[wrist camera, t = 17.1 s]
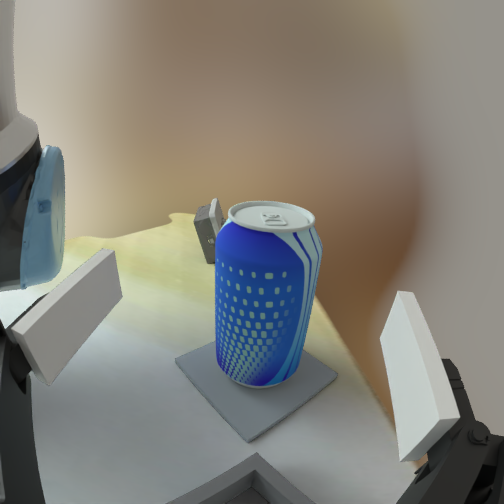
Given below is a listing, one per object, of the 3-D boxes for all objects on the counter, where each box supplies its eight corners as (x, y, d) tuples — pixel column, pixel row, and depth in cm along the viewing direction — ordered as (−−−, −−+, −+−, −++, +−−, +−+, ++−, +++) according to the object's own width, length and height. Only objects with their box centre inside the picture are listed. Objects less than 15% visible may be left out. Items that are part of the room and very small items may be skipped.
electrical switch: (230, 267, 49) (225, 212, 45) (198, 269, 49) (191, 215, 45) (230, 243, 58) (227, 196, 54) (203, 245, 58) (198, 198, 54)
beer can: (199, 368, 28) (192, 214, 21) (246, 327, 35) (254, 192, 28) (272, 408, 24) (299, 246, 18) (310, 355, 31) (341, 213, 24)
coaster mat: (247, 443, 22) (248, 440, 21) (175, 362, 30) (174, 358, 29) (336, 377, 29) (338, 373, 28) (260, 322, 37) (261, 318, 37)
